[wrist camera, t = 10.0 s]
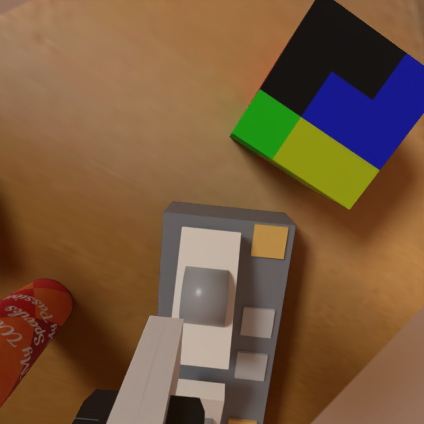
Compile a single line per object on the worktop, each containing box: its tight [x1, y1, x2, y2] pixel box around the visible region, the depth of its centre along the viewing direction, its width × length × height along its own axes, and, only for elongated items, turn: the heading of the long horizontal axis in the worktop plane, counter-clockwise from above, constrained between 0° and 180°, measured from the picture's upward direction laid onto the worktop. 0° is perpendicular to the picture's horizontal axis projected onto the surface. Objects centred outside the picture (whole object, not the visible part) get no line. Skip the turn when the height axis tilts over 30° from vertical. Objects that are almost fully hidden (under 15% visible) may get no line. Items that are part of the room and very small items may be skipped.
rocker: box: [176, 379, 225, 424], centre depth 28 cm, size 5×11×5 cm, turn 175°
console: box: [157, 202, 296, 424], centre depth 32 cm, size 12×25×6 cm, turn 175°
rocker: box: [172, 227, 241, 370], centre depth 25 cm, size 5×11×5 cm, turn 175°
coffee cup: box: [0, 279, 73, 407], centre depth 28 cm, size 8×8×15 cm
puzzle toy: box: [229, 0, 424, 210], centre depth 25 cm, size 10×10×10 cm
